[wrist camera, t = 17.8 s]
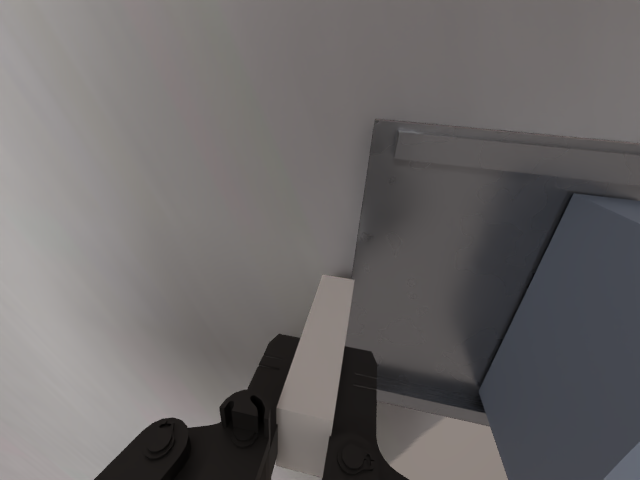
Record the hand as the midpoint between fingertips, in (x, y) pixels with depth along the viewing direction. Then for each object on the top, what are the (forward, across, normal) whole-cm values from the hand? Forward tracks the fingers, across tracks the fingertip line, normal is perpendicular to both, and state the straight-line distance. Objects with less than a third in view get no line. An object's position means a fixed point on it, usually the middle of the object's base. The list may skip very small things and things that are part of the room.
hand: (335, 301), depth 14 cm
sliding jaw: (+2, +10, 0) cm, 10 cm away
